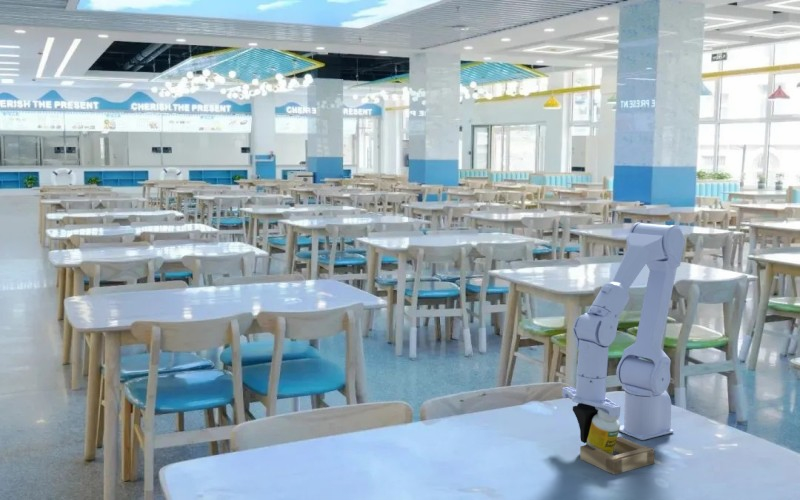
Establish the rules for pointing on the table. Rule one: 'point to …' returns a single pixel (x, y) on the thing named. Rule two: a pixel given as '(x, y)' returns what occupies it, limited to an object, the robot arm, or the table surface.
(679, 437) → the table surface
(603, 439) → the supplement bottle
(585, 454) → the hub cradle
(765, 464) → the table surface
